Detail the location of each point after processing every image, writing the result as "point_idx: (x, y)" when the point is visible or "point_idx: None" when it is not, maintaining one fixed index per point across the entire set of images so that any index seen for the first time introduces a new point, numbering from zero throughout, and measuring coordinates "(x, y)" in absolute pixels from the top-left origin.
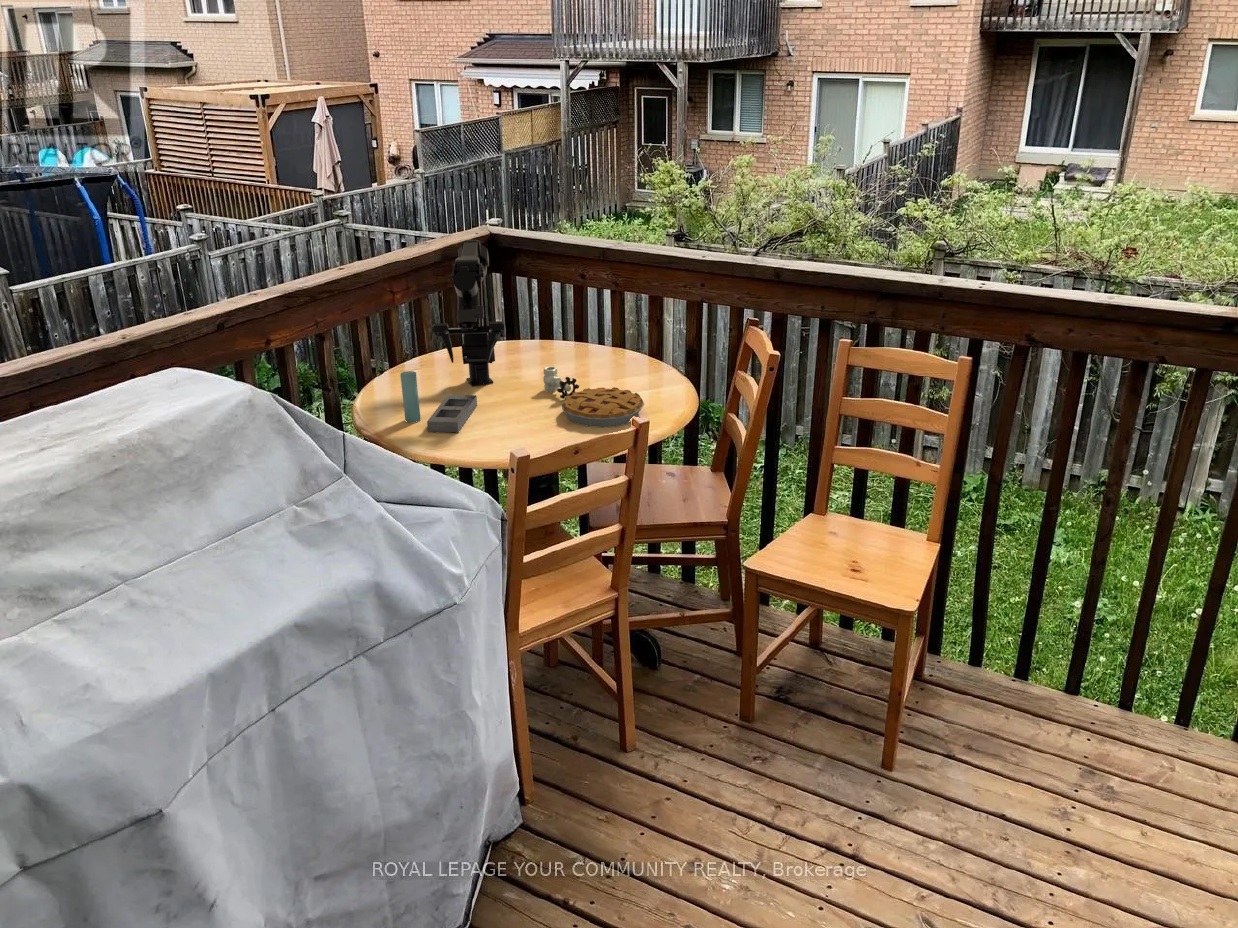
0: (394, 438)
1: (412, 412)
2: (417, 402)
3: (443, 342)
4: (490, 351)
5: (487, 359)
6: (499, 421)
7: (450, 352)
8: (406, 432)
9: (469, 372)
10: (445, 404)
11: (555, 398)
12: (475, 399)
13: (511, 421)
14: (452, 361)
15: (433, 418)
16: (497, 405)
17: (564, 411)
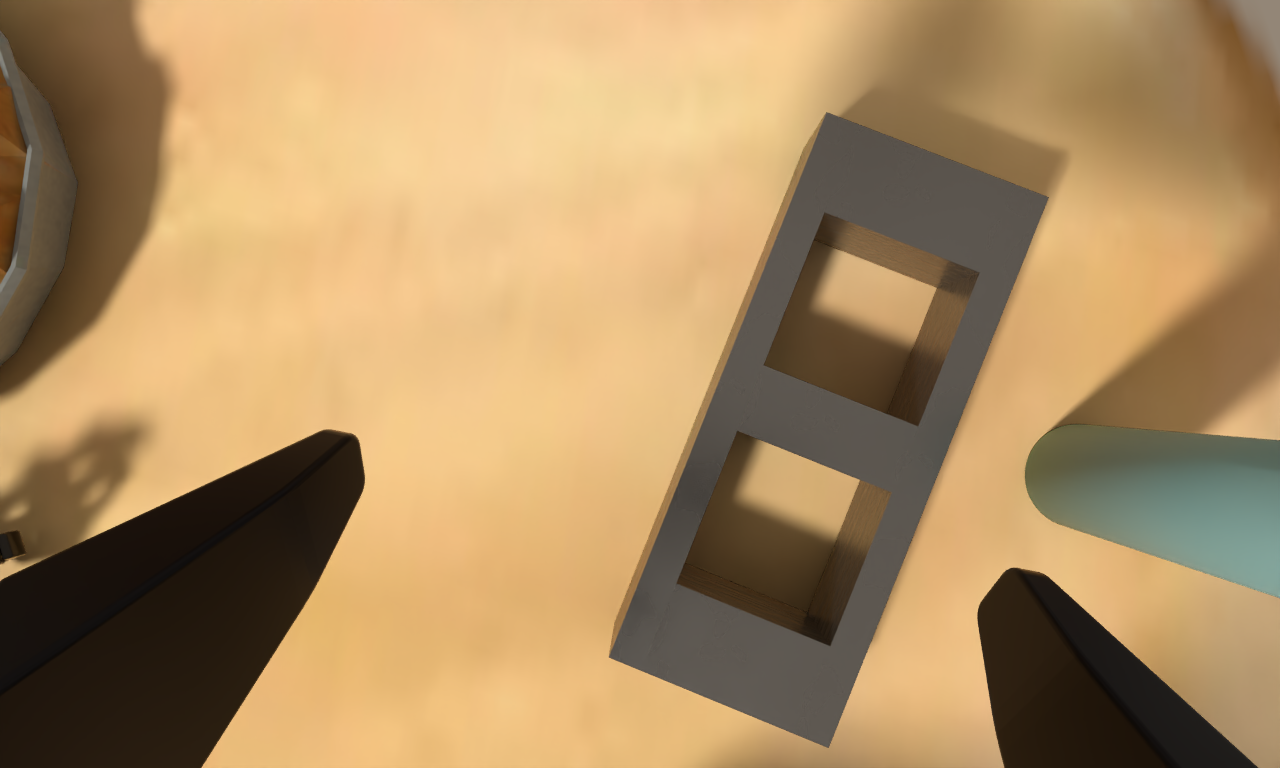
0: (1222, 181)
1: (1140, 429)
2: (1151, 460)
3: None
4: (129, 523)
5: (335, 437)
6: (514, 281)
7: (1199, 751)
8: (1137, 265)
9: None
10: (868, 543)
11: None
12: (624, 613)
13: (439, 257)
14: (1024, 573)
15: (995, 243)
16: (478, 587)
17: (38, 138)
